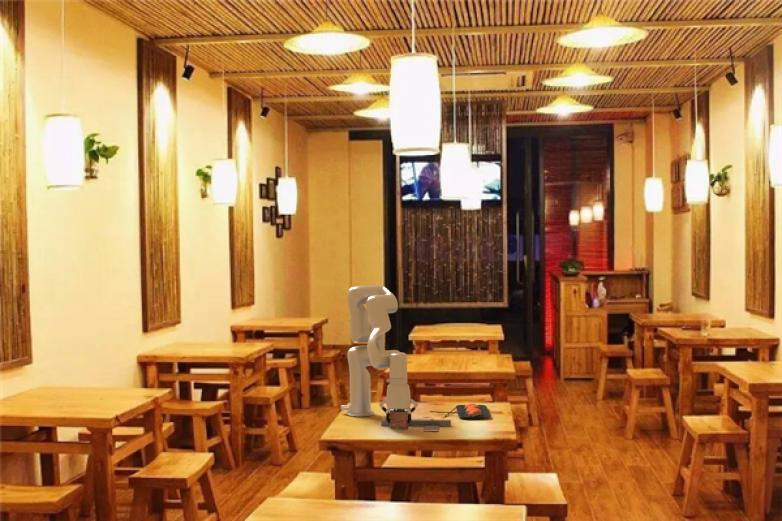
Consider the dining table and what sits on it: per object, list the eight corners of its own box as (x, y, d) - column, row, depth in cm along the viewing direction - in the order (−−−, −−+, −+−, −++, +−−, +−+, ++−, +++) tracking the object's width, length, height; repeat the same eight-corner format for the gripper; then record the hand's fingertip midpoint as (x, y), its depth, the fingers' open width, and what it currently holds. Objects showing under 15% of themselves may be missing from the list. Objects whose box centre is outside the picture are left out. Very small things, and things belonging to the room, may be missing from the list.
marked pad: (423, 431, 359) (423, 430, 359) (425, 426, 370) (425, 424, 370) (438, 431, 358) (438, 430, 358) (439, 426, 369) (439, 425, 369)
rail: (381, 425, 371) (381, 418, 371) (381, 424, 374) (381, 417, 374) (450, 426, 369) (450, 419, 369) (450, 425, 371) (450, 418, 371)
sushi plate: (491, 421, 381) (491, 412, 381) (424, 421, 382) (424, 413, 382) (485, 408, 410) (485, 400, 410) (423, 408, 411) (423, 400, 411)
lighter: (409, 428, 366) (408, 405, 365) (406, 430, 362) (406, 406, 362) (391, 427, 368) (390, 404, 368) (388, 428, 365) (388, 405, 365)
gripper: (377, 383, 362) (377, 424, 362) (418, 383, 360) (418, 424, 361) (378, 380, 369) (379, 420, 370) (419, 380, 368) (419, 421, 368)
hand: (398, 422), depth 365 cm, fingers closed on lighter, 8 cm apart
